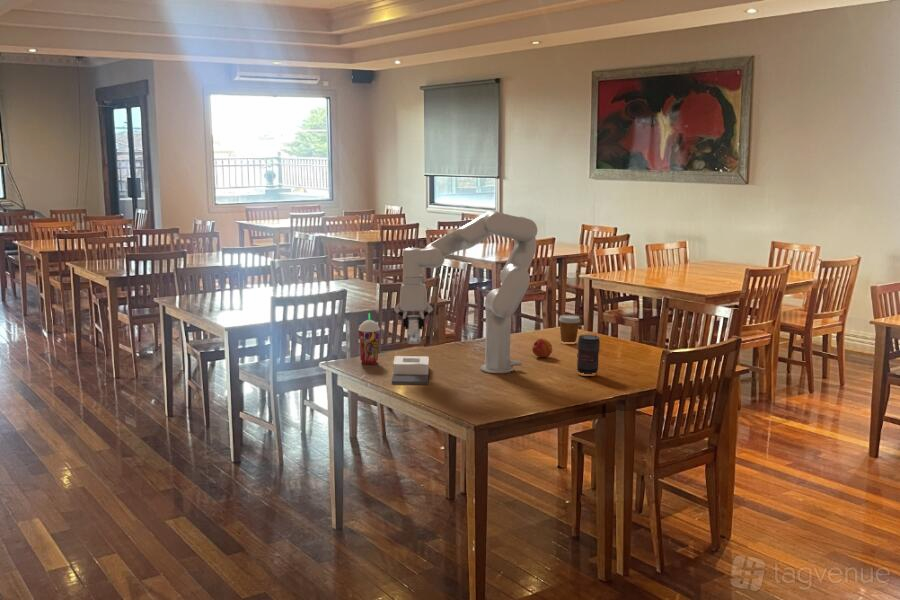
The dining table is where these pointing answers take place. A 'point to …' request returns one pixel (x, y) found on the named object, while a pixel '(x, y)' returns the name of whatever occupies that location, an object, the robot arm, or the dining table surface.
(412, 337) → the steel plug
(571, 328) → the disposable coffee cup
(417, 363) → the socket block
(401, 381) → the rubber pad
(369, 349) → the smoothie
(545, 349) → the fruit
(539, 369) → the dining table surface
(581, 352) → the camera lens
